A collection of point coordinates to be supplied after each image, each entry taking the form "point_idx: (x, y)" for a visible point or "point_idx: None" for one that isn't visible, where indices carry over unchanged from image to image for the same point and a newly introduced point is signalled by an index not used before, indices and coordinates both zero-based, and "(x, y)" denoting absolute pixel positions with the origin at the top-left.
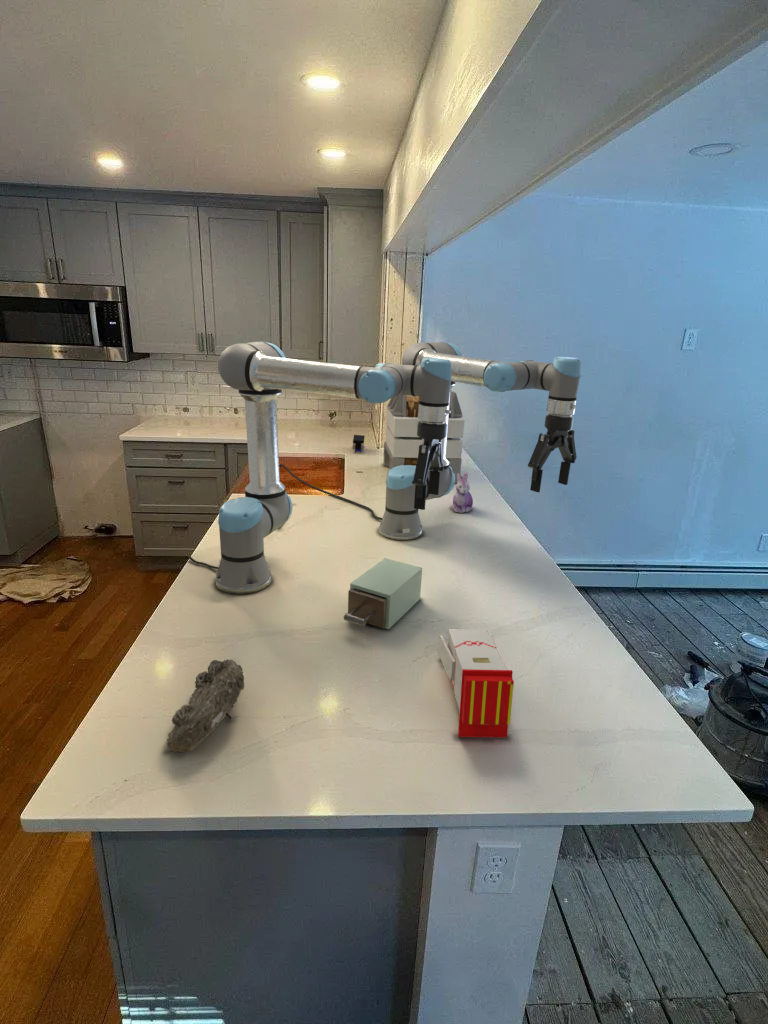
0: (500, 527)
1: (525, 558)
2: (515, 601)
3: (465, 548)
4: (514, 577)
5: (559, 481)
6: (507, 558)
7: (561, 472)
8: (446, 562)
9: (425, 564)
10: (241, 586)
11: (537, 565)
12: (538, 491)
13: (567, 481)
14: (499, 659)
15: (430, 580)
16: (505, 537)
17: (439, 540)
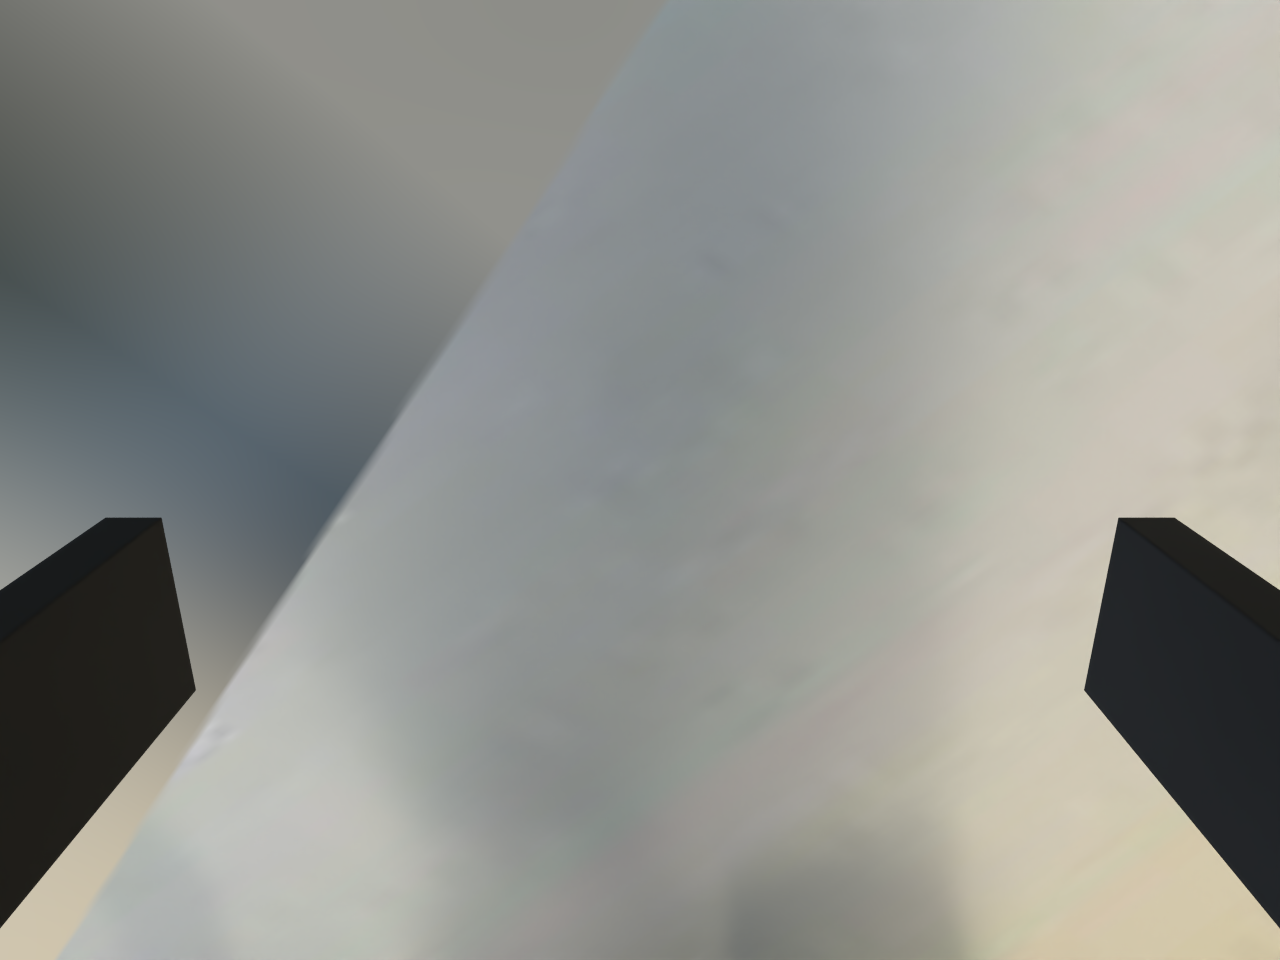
0: (253, 877)
1: (507, 489)
2: (1144, 101)
3: (721, 786)
4: (827, 342)
5: (174, 683)
6: (615, 555)
7: (41, 816)
8: (986, 718)
9: (1105, 761)
10: None
11: (528, 370)
12: (1173, 527)
13: (72, 548)
14: None
15: None
16: (352, 766)
17: (759, 930)
